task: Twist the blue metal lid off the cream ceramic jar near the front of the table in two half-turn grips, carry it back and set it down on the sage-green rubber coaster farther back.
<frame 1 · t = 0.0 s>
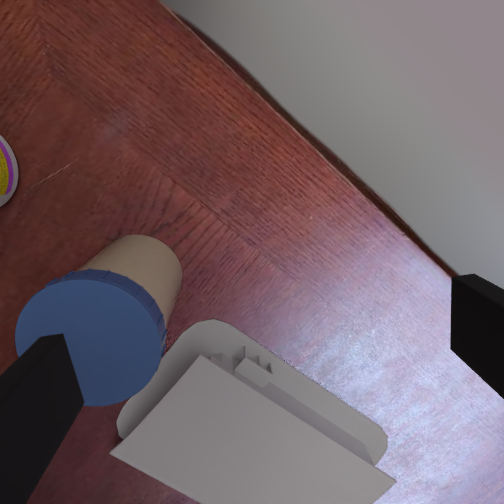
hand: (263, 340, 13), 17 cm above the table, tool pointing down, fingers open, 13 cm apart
jar lid: (91, 343, 19), point 10 cm above the table, screwed on, not yet turned
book: (255, 434, 34), on the table
jar: (139, 276, 29), on the table
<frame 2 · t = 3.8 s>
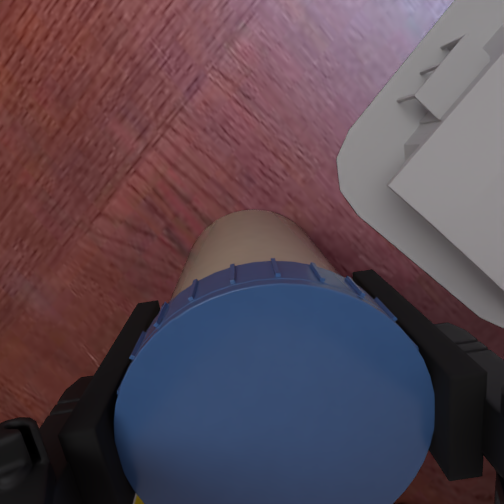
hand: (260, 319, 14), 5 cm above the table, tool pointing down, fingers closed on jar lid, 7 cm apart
jar lid: (276, 425, 9), point 10 cm above the table, screwed on, not yet turned, touching gripper
jar: (253, 275, 19), on the table
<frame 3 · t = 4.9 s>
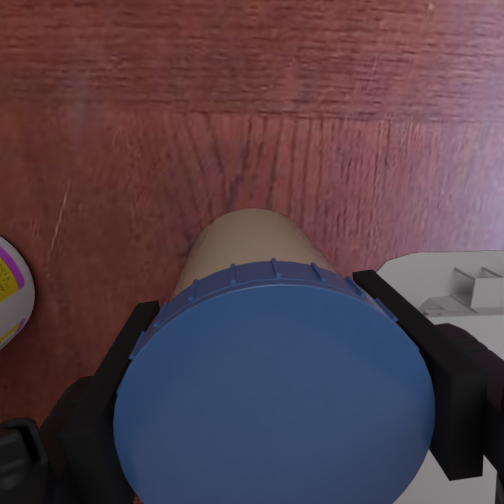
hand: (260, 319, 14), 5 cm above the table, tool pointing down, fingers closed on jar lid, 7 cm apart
jar lid: (275, 425, 9), point 11 cm above the table, turned 51° so far, risen 0.1 cm, still on its thread, touching gripper
jar: (252, 274, 19), on the table
when the fingers open (5 cm above the table, at t = 6.3 s): jar lid stays where it is, point 11 cm above the table.
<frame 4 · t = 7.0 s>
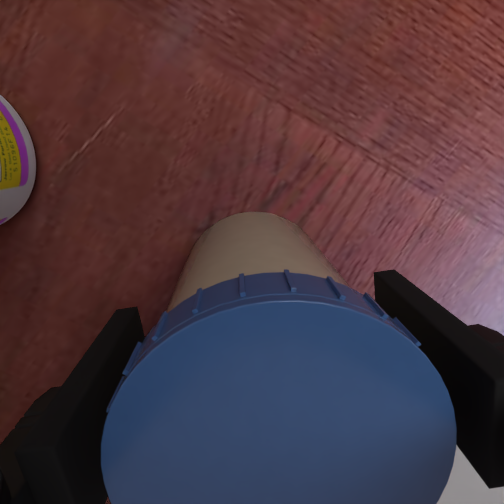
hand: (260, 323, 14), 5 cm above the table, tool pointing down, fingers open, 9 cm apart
jar lid: (280, 453, 8), point 11 cm above the table, turned 89° so far, risen 0.2 cm, still on its thread
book: (456, 482, 23), on the table
jar: (254, 279, 18), on the table
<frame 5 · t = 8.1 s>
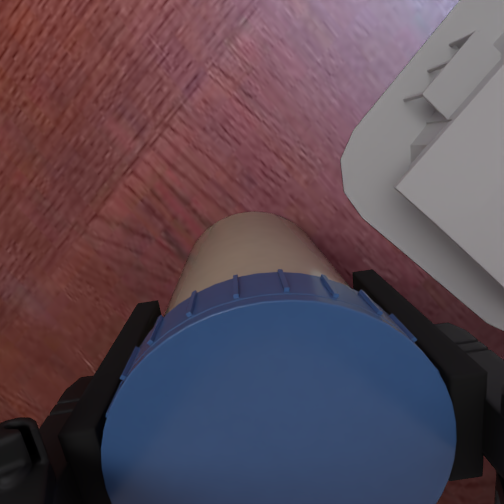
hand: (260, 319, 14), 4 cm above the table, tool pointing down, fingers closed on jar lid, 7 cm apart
jar lid: (280, 453, 8), point 11 cm above the table, turned 89° so far, risen 0.2 cm, still on its thread, touching gripper
jar: (254, 279, 18), on the table
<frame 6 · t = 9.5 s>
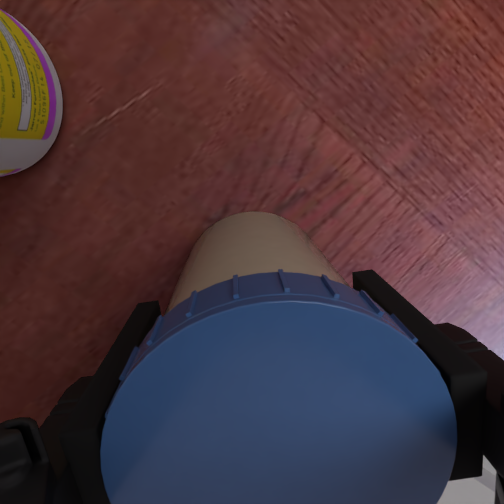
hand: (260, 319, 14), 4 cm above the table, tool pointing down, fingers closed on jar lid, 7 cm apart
jar lid: (280, 453, 8), point 11 cm above the table, off its thread, touching gripper
jar: (254, 279, 18), on the table
when the fingers open (2 cm above the table, at t = 17.5 s): jar lid drops 6 cm, resting on coaster.
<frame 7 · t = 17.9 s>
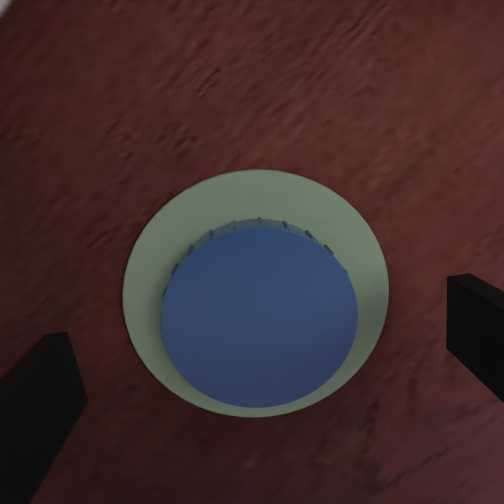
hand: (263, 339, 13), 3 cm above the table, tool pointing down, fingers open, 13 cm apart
jar lid: (259, 320, 14), point 2 cm above the table, off its thread, touching coaster
coaster: (257, 300, 16), on the table
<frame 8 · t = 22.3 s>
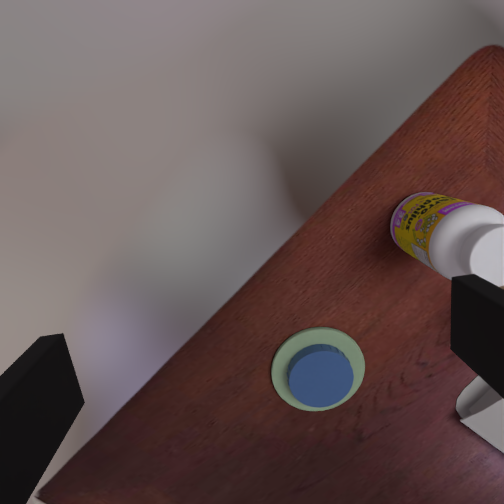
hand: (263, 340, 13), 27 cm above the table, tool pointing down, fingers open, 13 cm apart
jar lid: (320, 378, 42), point 2 cm above the table, off its thread, touching coaster
supplement bottle: (417, 222, 40), on the table
coaster: (317, 368, 44), on the table
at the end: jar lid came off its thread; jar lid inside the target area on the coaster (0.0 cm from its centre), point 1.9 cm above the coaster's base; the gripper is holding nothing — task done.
